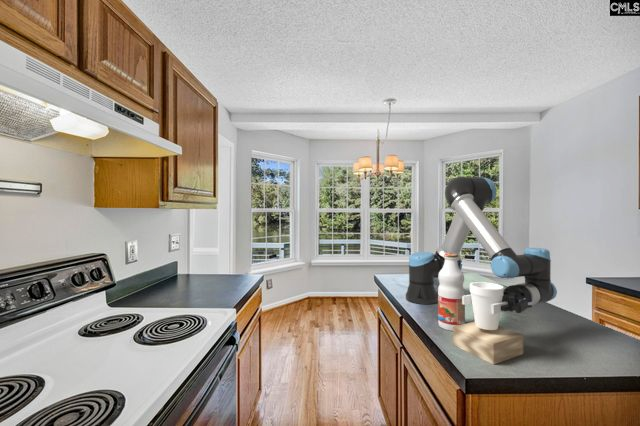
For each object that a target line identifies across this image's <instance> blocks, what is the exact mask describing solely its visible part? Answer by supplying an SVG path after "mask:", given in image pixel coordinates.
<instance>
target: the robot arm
mask: <svg viewBox="0 0 640 426" xmlns="http://www.w3.org/2000/svg"><path fill="white" fill-rule="evenodd" d="M497 191H498V190H497V187H496V185H495V183H494V181H493V180H491V179H490V178H488V177H482V176H457V177H454V178H453V179H451V180H450V181H449V182H448V183H447V185H446V186H445V190H444V196H445V201H446V202H447V204H448V206H449V207H450V208H451V210H453V211H455V213H454V217H453V219H452V220H451V224H450V225H449V228H448V230H447V232H446V235H445V237H444V240H443V242H442V245H441V246H438V247H437V249H436V251H435V253H433V252H431V251H418V252H413V253H412V254H410V255H409V259H408V277H409V278H408V279H409V280H408V287H407V291H406V293H405V300H406V301H408V302H409V303H414V304H416V305H417V304H419V305H433V304H438V294H437V291H436V288H435V284H434V283H435V281H434V279H436V278H437V279H438V274H439V272H440V270H441V269H442V268H443V265H444V262H445V258H444V253H455V254H458V259H457V263H458V266H459V269H460V270H461V271H462V269H463V264H462V261H463V260H462V255H461V254H460V252H461V251H462V248H463V246H464V243H465V242H466V239H467V237H468V235H469V233H470V232H471V233H472V235H473V236H474V237H475V238H476V240H477V242H478V243H479V244H480V245H481V247H482V248H483V249H484V251H485V252H486V254H487V255H488V257H489V258H490V259H491V261H490V267H491V271H492V274H493V275H495V276H496V277H497V278H499V279H515V278H520V277H524V282H522V283H517V284H512V285H508V286H506V287H505V288H504V289H505V290H504V291H503V297H502V302H501V303H496V304H492V305H491V314H497V313H500V314H502V313H505V312H506V313H507V312H514V311H515V313H517V314H521V313H522V312H524V311H525V310H527V309H528V308H533V306H534V305H538V304H542V303H548V302H549V301H552V300H554V299H555V298H556V297H557V294H558V290H557V287H556V285H555V284H554V283H553V282H552V281H551V276H552V275H551V267H552V266H551V265H552V263H551V262H552V260H551V254H550V250H549V249H547V248H541V247H527V248H524V250H523V251H524V252H523V254H517V253H516V252H515V251H514V249H512V247H511V246H510V245H509V244H508V242H507V241H506V239H505V238H504V237H503V235H501V233H500V231H498V230H497V228H496V227H495V226H494V224H493V223H492V222H491V221H490V219H489V218H488V217H487V215H486V214H485V213H484V212H483V211H484V209H485V206H486V204H487V205H488V204H490V203H492V202H493V201H494V200H495V199H496V197H497ZM507 303H508V304H507ZM462 304H463V305H465V306H466V305H469V304H472V299H471V292H470V291H469V294H465V295H464V296H462Z"/></svg>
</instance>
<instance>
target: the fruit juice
mask: <svg viewBox="0 0 640 426" xmlns="http://www.w3.org/2000/svg"><path fill="white" fill-rule="evenodd" d="M444 258H445V262H444V265H443V268H442V269H441V270H440V272H439V274H438V278H437V279H438V282H439V285H438V288H437V296H438V302H437V317H438V318H437V320H438V321H437V323H438V326H439V327H440V328H441V329H444V330H446V331H452V332H453V327H454V326H458V325H462V324H466V304H465V305H463V304H462V296H464V295H466V293H465V288H464V283H465V275H464V273H463V271H462V269H461V270H460V269H459V266H458V263H457V259H458V254H455V253H444Z"/></svg>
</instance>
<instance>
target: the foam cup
mask: <svg viewBox="0 0 640 426" xmlns="http://www.w3.org/2000/svg"><path fill="white" fill-rule="evenodd" d="M503 289H504V286H503V285H501V284H497V283H495V282H494V283H493V282H485V281H484V282H483V281H476V282H475V281H474V282H470V283H469V293H470V292H471V299H472V303H471V304H472V312H473V317H474V321H475V325H476V326H477V327H479V328H482V329H486V330H496V329H498V326H499V323H500V316H501V313H497V314H491V305H492V304H496V303H501V302H502V297H503Z"/></svg>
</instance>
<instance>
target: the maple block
mask: <svg viewBox="0 0 640 426" xmlns="http://www.w3.org/2000/svg"><path fill="white" fill-rule="evenodd" d="M452 344H453V346H455V347H457V348H459V349H461V350H463V351H465V352H467V353H469V354H471V355H473V356H475V357H477V358H480V359H481V360H483V361H485V362H487V363H490V364H492V365H496V364H499V363H502V362H505V361H508V360H510V359H513V358H516V357H519V356H522V355H524V334H522V333H520V332H517V331H515V330H511V329H508V328H505V327H503V326H499V325H498V329H496V330H486V329H482V328H479V327H477V326H476V325H475V320H474V321H471V322H470V321H469V322H468V323H467V322H465V324H462V325H458V326H454V327H453V331H452Z"/></svg>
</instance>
